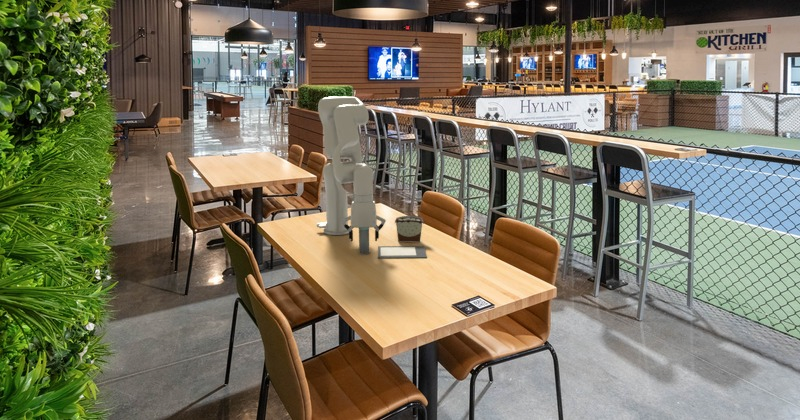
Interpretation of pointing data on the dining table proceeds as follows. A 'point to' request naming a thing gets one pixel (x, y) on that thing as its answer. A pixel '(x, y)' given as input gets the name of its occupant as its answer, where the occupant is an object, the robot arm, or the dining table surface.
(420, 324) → the dining table surface
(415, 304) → the dining table surface
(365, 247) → the marker
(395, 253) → the mat
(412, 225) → the food container
